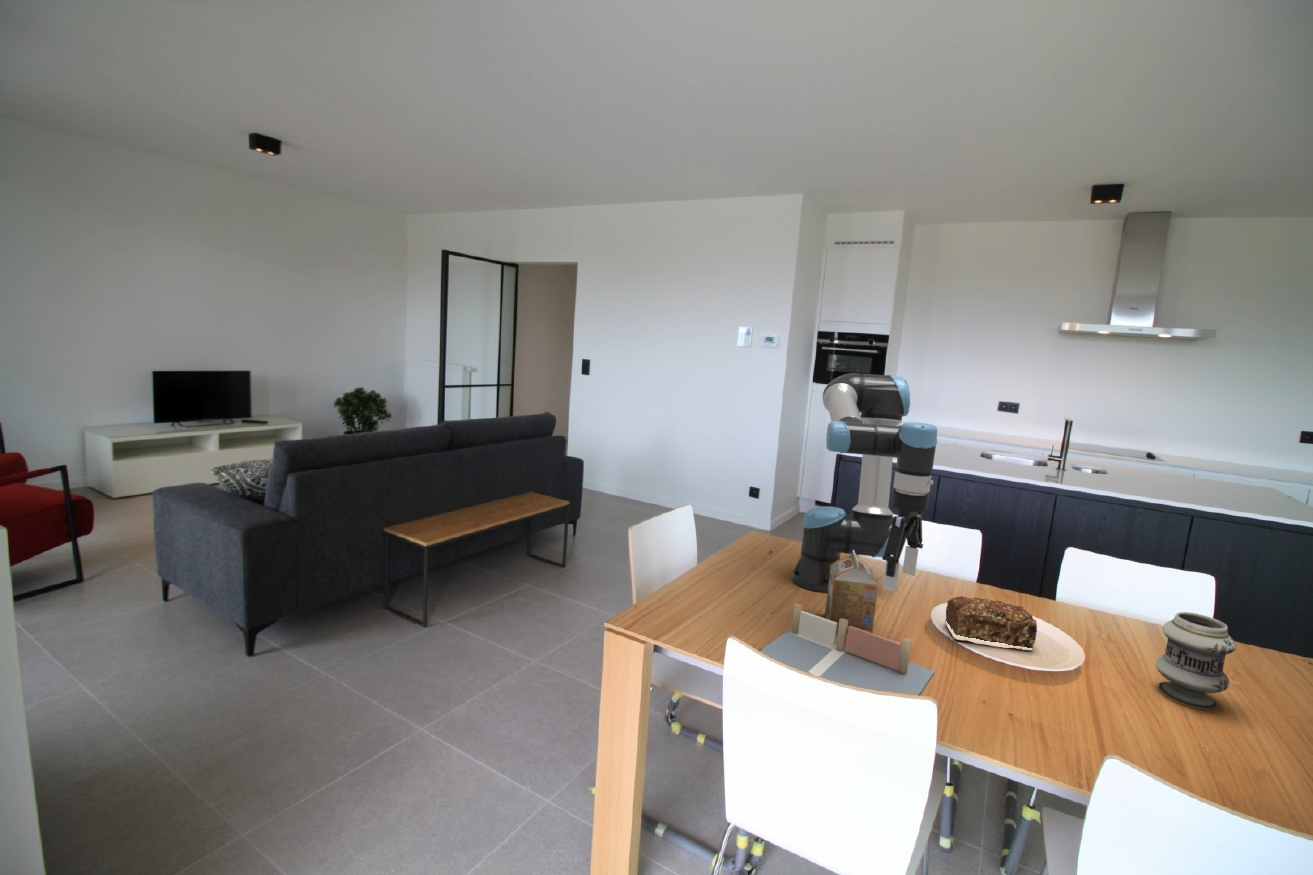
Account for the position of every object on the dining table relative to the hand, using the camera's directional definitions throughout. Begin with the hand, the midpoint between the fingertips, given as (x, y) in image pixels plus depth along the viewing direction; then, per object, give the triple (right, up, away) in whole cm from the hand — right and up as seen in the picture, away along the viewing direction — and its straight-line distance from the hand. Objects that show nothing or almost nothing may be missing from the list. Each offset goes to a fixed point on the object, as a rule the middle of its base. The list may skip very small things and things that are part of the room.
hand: (899, 581), depth 138 cm
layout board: (-13, -19, -2) cm, 23 cm away
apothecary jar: (+61, -24, -6) cm, 65 cm away
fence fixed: (-17, -16, +7) cm, 25 cm away
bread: (+29, -19, +16) cm, 38 cm away
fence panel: (-6, -18, -1) cm, 19 cm away
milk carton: (-6, -16, +18) cm, 25 cm away
